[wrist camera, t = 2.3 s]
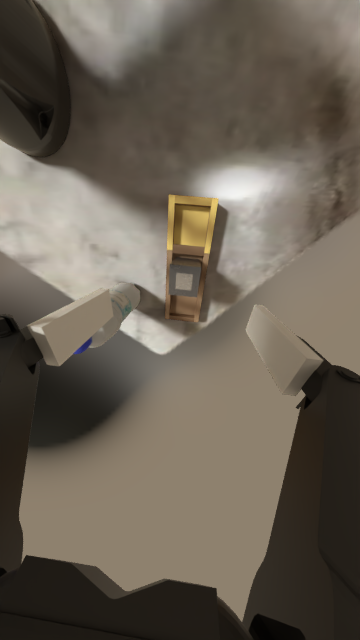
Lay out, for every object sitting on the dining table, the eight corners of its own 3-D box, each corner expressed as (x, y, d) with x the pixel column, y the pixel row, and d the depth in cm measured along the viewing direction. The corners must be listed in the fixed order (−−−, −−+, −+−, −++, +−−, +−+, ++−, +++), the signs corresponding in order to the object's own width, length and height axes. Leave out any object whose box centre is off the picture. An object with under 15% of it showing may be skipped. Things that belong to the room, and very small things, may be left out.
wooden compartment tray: (171, 198, 25) (168, 194, 23) (216, 202, 25) (218, 198, 23) (166, 313, 37) (164, 318, 34) (197, 317, 36) (198, 322, 34)
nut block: (176, 256, 29) (169, 264, 20) (198, 258, 29) (201, 267, 20) (175, 279, 31) (168, 294, 22) (195, 281, 31) (197, 297, 22)
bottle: (147, 287, 34) (99, 339, 16) (138, 310, 37) (90, 373, 19) (120, 274, 33) (37, 313, 15) (113, 298, 36) (38, 354, 18)
